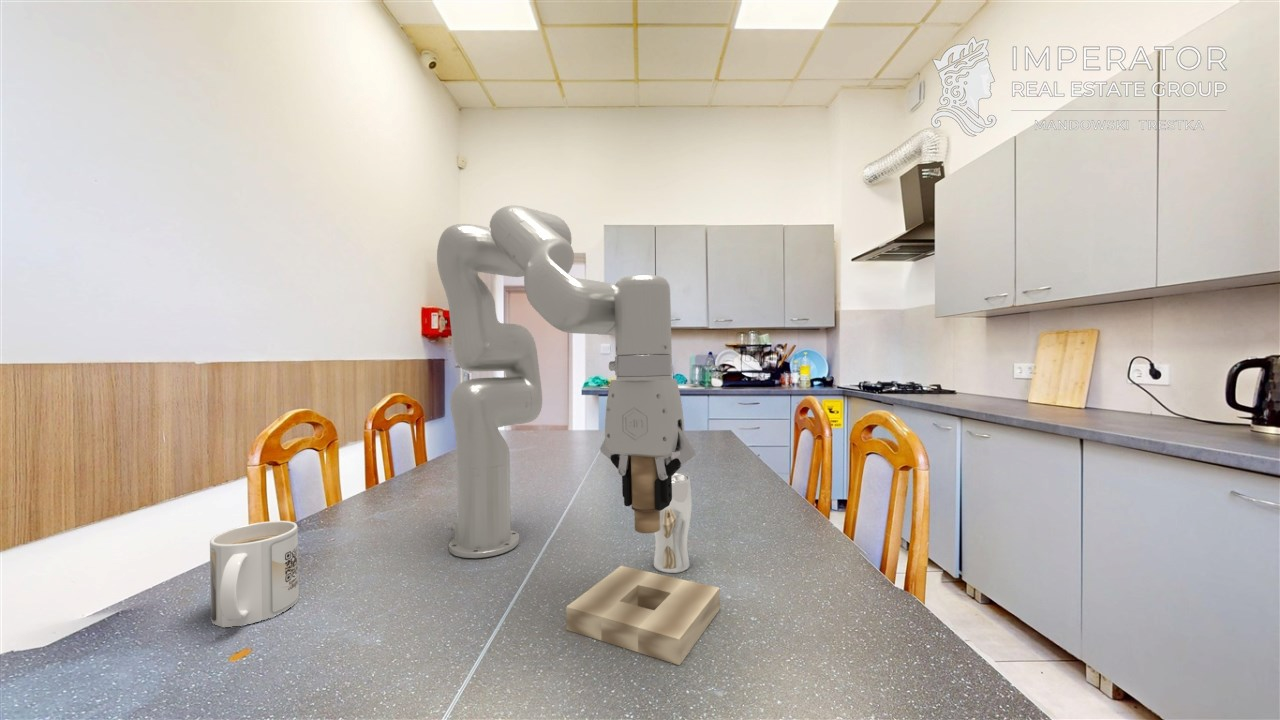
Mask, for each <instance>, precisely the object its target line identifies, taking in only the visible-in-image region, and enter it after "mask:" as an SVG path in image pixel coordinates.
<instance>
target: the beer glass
mask: <svg viewBox="0 0 1280 720" xmlns="http://www.w3.org/2000/svg"><path fill="white" fill-rule="evenodd" d="M691 516H692V488H691V477H690V476H689V475H688V474H686V473H682V472H681V473H680V472H675V474H674V475H673V476H672V500H671V502H670V505H669V506H667V507H666V508H664V509H663V510H661V511H660V530H659V531H658V532H655V533H653V534H654V540H655V549H654V550H655V551H654V557H653V558H654V559H653V567H654V569H656V570H657V571H659V572H661V573H667V574H679V573H682V572H685V571H687V570H688V569H689V568H690V560H689V559H690V558H689V554H688V537H689V529H690V524H691V523H690V522H691V518H692V517H691Z"/></svg>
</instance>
